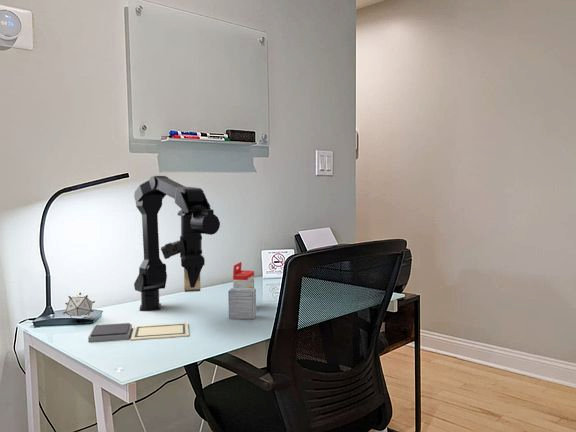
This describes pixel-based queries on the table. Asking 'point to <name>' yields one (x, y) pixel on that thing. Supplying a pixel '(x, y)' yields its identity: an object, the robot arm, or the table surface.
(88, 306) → the game die
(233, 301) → the medicine box
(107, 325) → the ink pad
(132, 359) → the table surface
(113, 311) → the table surface
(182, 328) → the card sheet
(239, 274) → the ink box
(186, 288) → the stamp
